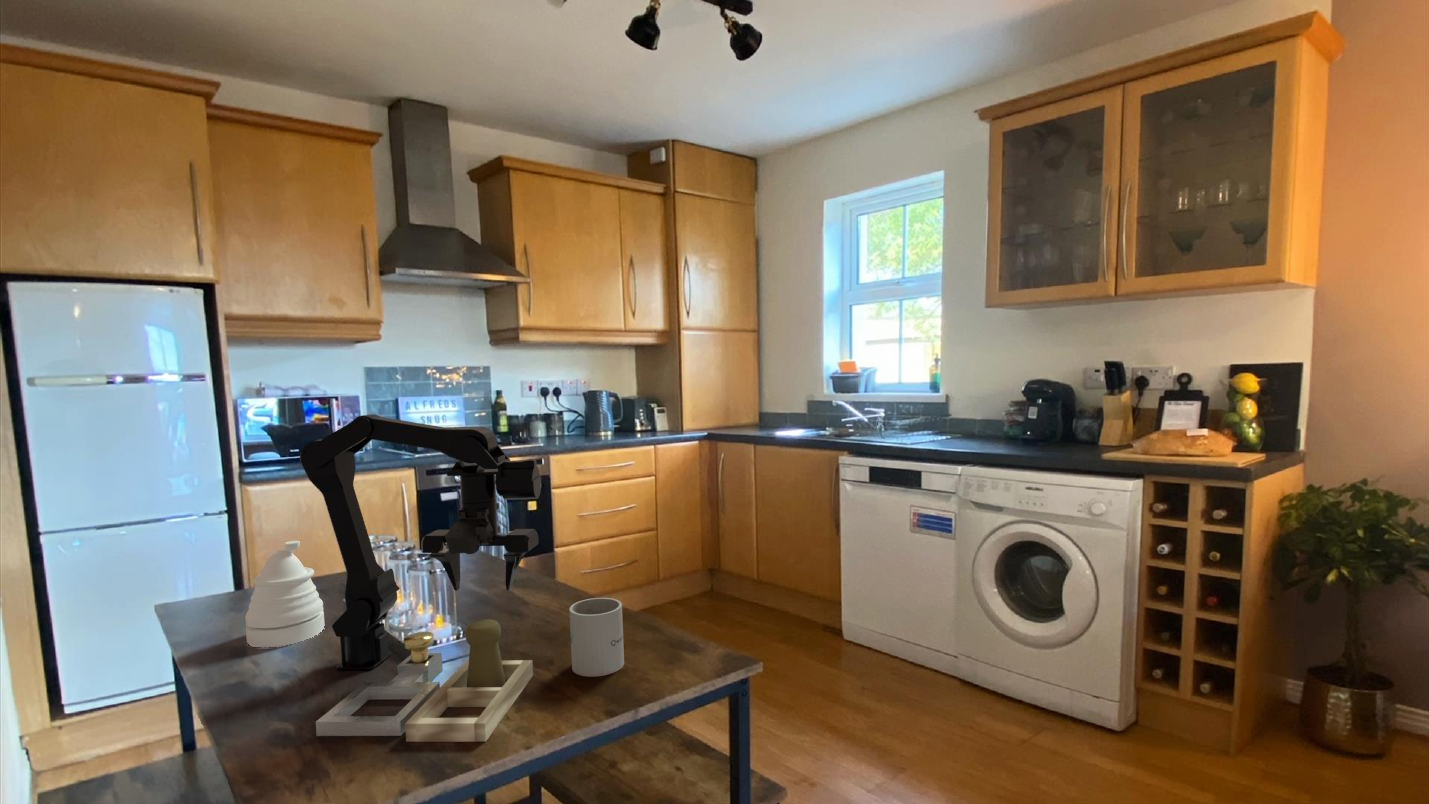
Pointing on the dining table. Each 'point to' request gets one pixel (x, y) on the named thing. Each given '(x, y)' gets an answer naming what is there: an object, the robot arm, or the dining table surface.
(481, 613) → the dining table surface
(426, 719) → the rack
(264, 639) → the honey pot
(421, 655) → the release key
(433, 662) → the socket block
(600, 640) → the mug
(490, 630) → the cork
